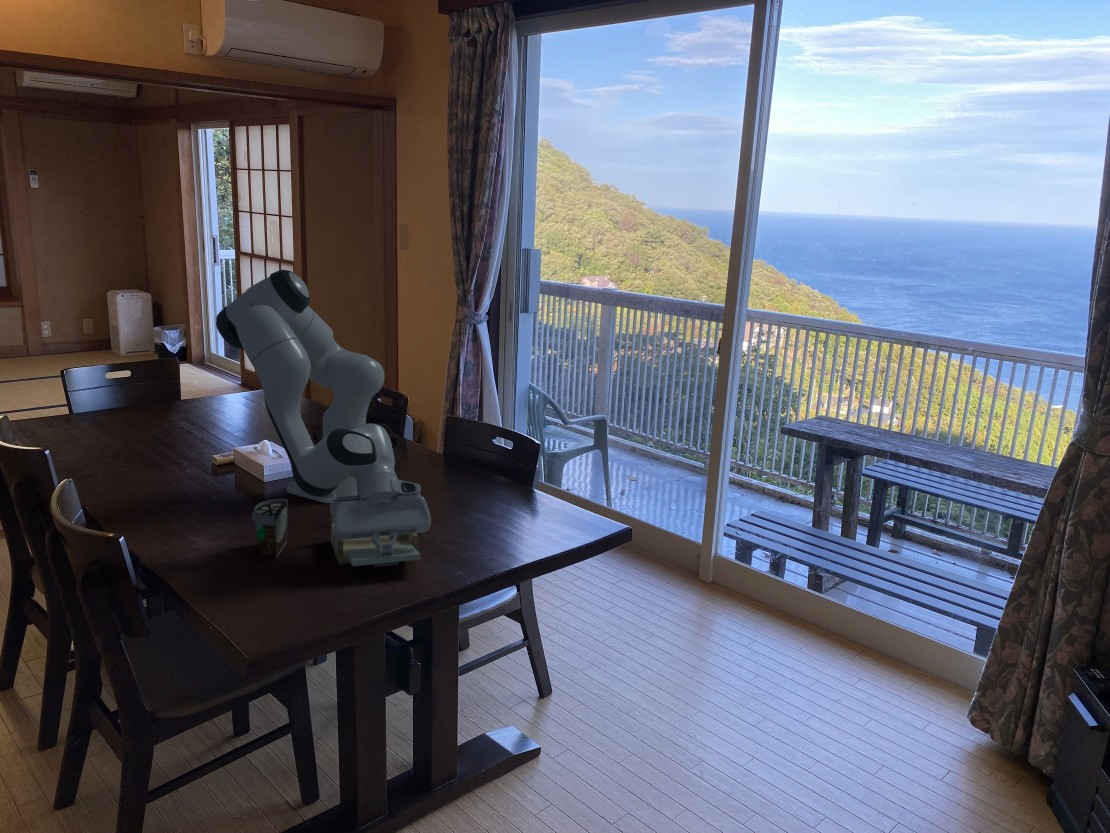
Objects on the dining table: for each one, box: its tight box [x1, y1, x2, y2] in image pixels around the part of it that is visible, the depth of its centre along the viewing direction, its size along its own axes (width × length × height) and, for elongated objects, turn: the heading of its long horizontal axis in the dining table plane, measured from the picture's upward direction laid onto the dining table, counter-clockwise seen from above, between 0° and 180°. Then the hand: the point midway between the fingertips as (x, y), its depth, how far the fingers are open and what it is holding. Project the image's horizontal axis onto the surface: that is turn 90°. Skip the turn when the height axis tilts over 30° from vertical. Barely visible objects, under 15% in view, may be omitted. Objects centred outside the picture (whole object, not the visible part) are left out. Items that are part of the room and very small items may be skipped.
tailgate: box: [346, 544, 421, 568], centre depth 170 cm, size 2×14×9 cm
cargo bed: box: [330, 513, 419, 566], centre depth 180 cm, size 14×17×8 cm
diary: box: [309, 423, 398, 447], centre depth 265 cm, size 19×25×5 cm
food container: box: [251, 498, 289, 559], centre depth 176 cm, size 12×6×10 cm, turn 5°
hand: (386, 553), depth 166 cm, fingers closed, pressing on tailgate
